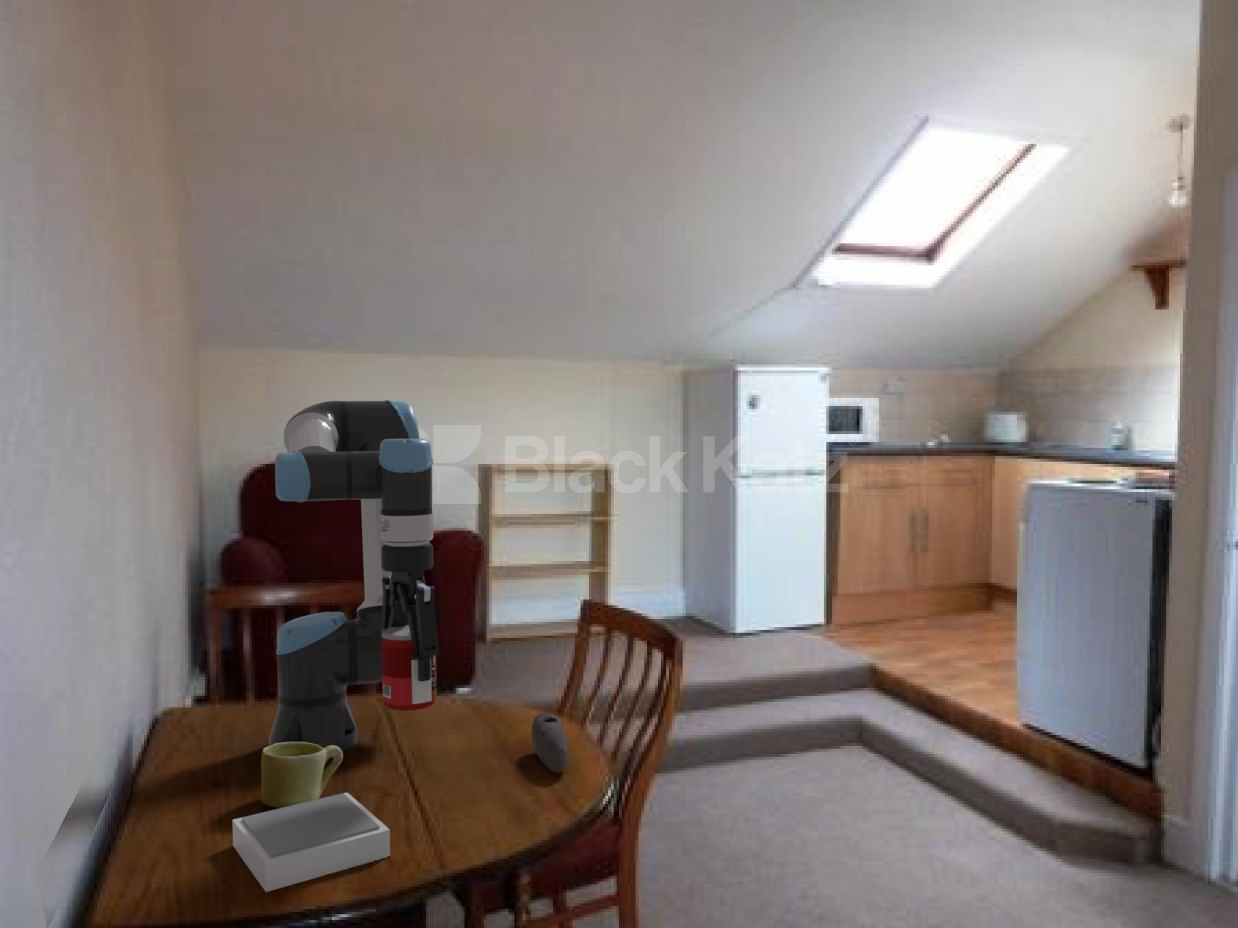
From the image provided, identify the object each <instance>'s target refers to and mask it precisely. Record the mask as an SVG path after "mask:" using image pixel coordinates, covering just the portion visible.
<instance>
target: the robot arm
mask: <svg viewBox="0 0 1238 928" xmlns="http://www.w3.org/2000/svg"><path fill="white" fill-rule="evenodd" d="M283 444H284V447H285V450H286V451H287V452H280V453H278V454H276V456H275V460H274V463H275V464H274V467H275V469H274V470H275V472H274V475H275V477H274V479H275V482H274V483H275V495H276V499H278V500H279V501H281V502H282V501H283V502H297V503H304V502H317V501H319V502H320V501H322V502H323V501H339V500H342V501H343V500H346V501H348V500H349V501H350V500H360V506H361V507H360V508H361V509H360V510H361V511H360V512H361V528H362V529H361V530H362V531H361V532H362V555H363V556H362V557H363V558H362V559H363V581H364V600H363V601H362V603H361V605H359V607H358V608H357V609H356V619H347V616H346V615H345V613H344V612H342V611H324V612H319V613H318V612H317V613H313V614H308V615H305V616H300V617H298V618H297V617H296V618H294V619H291V620H289V621H287V622H285V623H284V624H282V626H280V628H279V629H278V633H277V648H276V650H275V651H276V655H277V666H278V667H277V669H278V671H277V674H278V675H277V676H278V677H277V679H278V680H277V686H278V690H277V691H278V694H277V695H278V706H277V707H278V708H277V711H276V714H275V717H274V720H273V724H272V725H271V726H272V727H271V729H270V732H269V738H268V746H272V745H273V744H275V743H282V742H308V743H313V744H317V745H319V746H320V747H322V748H325V747H327V746H330V745H335V746H338V747H339V748H340V749H341V751H342V753H344V752H346V751H348V750H351V749H352V748H353V747H355V746H356V745H357V743H358V727H357V725H356V722H355V719H354V717H353V714H352V711H351V707H350V706H349V703H348V700H347V699H348V698H347V687H348V686H353V685H363V684H364V685H365V684H375V683H377V684H378V683H382V631H383V630H385V629H387V628H391V627H401V626H406V625H409V629H410V634H411V640H412V645H413V650H414V655H413V656H411V657H410V659H411V663H412V703H413V704H418V703H423V702H428V701H432V691H431V657H433V656H434V655H436V656H438V655H439V653H440V647H439V638H438V627H437V625H438V624H437V614H436V613H437V612H436V603H435V601H436V587H435V586H434V585H431V586H428V585H426V584H427V583H426V580H425V574H424V573H425V572H426V571H427V570H431V569H432V568H433V566H434V545H432V543H431V542H430V541H432V540H433V539H434V513H433V499H432V498H433V465H434V459H433V456H432V444H431V442H430V441H429V439H427V438H420V432H419V426H418V420H417V417H416V414H415V411H414V409H413V407H412V406H411V405H410V404H409V403H408V402H406V401H394V400H389V399H386V400H367V401H366V400H344V401H343V400H328V401H323V402H320V403H315V404H312V405H310V406H308V407H305V408H303V409H302V410H299V412H296V413H295V414H294V415H293V416H292V417H291V418H290V419H289V420H288V422H287V423H286V425H285V428H284V432H283Z"/></svg>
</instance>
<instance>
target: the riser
mask: <svg viewBox="0 0 1238 928" xmlns="http://www.w3.org/2000/svg"><path fill="white" fill-rule="evenodd" d="M231 823H232V824H231V825H232V847H233V848H234V850H235V851H236V852H237V853H238V855H239V856H240V858H241V859H242V861H243V862H244V863H245V865H246V866H247V868H248V869H249V871H251V874H252V875H253V876H254V878H255V879H256V880H257V882H258V883H259V885H260V886H261V887H262V889H263V890H264V892H265V893H267V892H271V891H274V890H275V891H276V890H278V889H282V888H285V887H289V886H292V885H295V884H299V883H302V882H306V881H309V880H313V879H316V878H320V877H323V876H326V875H330V874H334V873H337V872H340V871H344V870H347V869H351V868H354V867H359V866H362V865H365V864H369V863H371V862H376V861H379V860H383V859H387V858H389V857H388V856H390V857H391V829H390V828H388V826H386V825H385V824H384V823H383V822H382V821H381V820H379V819H378V818H377V817H376V816H375V815H374V814H373V813H371V812H370V811H369V810H368V808H366V807H365V806H363V805H362V804H361V803H360V802H359V801H358V800H357V799H356V798H355V797H353V796H352V795H351V794H350V793H348V791H347V792H343V793H339V794H334V795H331V796H326V797H322V798H319V799H317V800H313V801H309V802H305V803H300V804H296V805H292V806H288V807H284V808H275V809H271V810H268V811H263V812H259V813H255V814H251V815H247V816H243V817H238V818H234V819H232V822H231ZM382 858H383V859H382ZM375 860H376V861H375Z"/></svg>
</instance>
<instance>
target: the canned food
mask: <svg viewBox="0 0 1238 928" xmlns="http://www.w3.org/2000/svg"><path fill="white" fill-rule="evenodd" d="M413 655H414V650H413V645H412V640H411V634H410V629H409V625H406V626H401V627H391V628H387V629H385V630H383V631H382V682H381V683H382V702H383V705H384V706H385V708H387V709H390V710H393V711H401V712H403V711H404V712H405V711H407V712H408V711H416V710H423V709H427V708H429V707H432V706H433V705H434V704H435V702H436V699H437V655H434V656H433V657H431V691H432V701H428V702H423V703H418V704H413V703H412V663H411V659H410V657H411V656H413Z"/></svg>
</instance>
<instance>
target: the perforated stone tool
mask: <svg viewBox="0 0 1238 928" xmlns="http://www.w3.org/2000/svg"><path fill="white" fill-rule="evenodd" d="M531 742H532V745H533V747H534V750H535V753H536V754H537V757H538V758H539V759H540V761H541V762H542V763H543V764H544V765H545V767H546V768H548V769H549V770H550V771H552V772H553V773H555V774H559V773H562V772H563V771H564V770H565V768H566V767H567V764H568V760H569V745H568V739H567V736H566V732H565V729H564V728H563V725H562V723H561V721H560V720H559V719H558V717H556V715H554V714H553V713H550V712H541V713H539V714H537V715H536V716H535V717H534V719H533V722H532V726H531Z"/></svg>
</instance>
